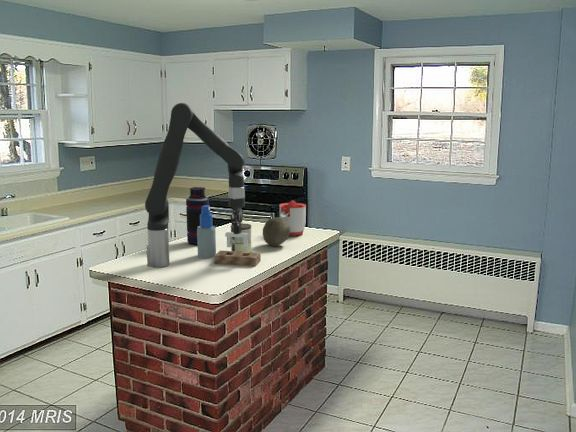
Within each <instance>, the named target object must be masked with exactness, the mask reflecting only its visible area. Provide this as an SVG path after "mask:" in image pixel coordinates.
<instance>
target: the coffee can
mask: <svg viewBox="0 0 576 432" xmlns="http://www.w3.org/2000/svg"><path fill="white" fill-rule="evenodd" d="M230 232H233V226H232V224H231V225H230ZM241 233H250V236H249V237H248V246H249V247H247V248H243V237H232V246H231V247H230V251H237V252H252V225H251V224H249V223H243V222H241Z"/></svg>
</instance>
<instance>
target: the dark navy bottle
mask: <svg viewBox="0 0 576 432" xmlns="http://www.w3.org/2000/svg"><path fill="white" fill-rule="evenodd" d="M206 192H207V194H208V196H207V195H206ZM189 193H190V195H189V197H187V198H185V205H186V207H185V208H186V209H185V213H186V232H187V233H186V234H187V236H186V239H187V243H188V245H191V244H197V227H198V226H200V214H201V211H202V206H204V205H209V206H210V201H209V196H210V193H209V191H208V190H207V189H206V187H204V186H203V187H202V186H201V187H200V186H192V187H190V188H189ZM197 245H198V244H197Z"/></svg>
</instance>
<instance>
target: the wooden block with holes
mask: <svg viewBox="0 0 576 432" xmlns="http://www.w3.org/2000/svg"><path fill="white" fill-rule="evenodd" d="M261 254H262V253H261V252H252V251H251V252H237V251H231V250H219V251H218V252H216V254H215V255H214V257H213V260H214V262H213V264H214V265H227V266H229V265H231V266H245V265H247V266H249V267H257V265H259V263H260V262H261V259H262V257H261ZM247 266H246V267H247Z"/></svg>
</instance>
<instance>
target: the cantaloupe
mask: <svg viewBox="0 0 576 432" xmlns="http://www.w3.org/2000/svg"><path fill="white" fill-rule="evenodd" d="M289 234H290V227H289V224H288V223H287V222H286V221H285V220H284V219H282V218H280V217H278V216H276V217H271V218H269V219H267V221H266V222H265V223H264V226H263V228H262V236H263V240H264V242H265V243H266V244H268V245H269V246H271V247H278V246H281V245H282V244H284V243H285V242H286V240H288V238H289V236H290V235H289Z"/></svg>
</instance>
